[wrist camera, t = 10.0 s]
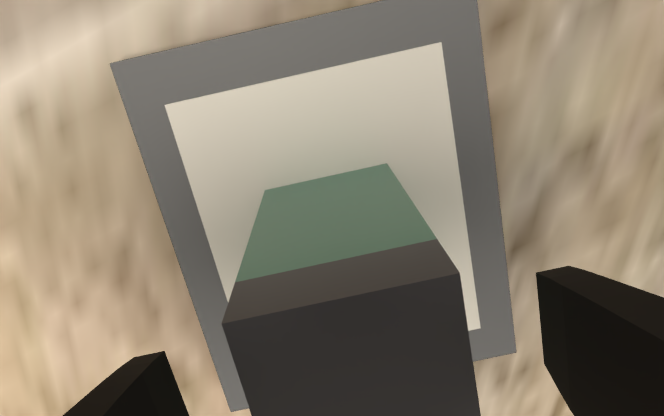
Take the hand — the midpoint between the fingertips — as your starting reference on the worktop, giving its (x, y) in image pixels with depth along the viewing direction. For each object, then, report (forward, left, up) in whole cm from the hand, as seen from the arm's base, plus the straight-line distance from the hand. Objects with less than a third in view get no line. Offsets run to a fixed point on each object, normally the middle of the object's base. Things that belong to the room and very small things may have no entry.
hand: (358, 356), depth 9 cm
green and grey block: (0, 0, -7) cm, 7 cm away
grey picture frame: (0, 0, -8) cm, 8 cm away
